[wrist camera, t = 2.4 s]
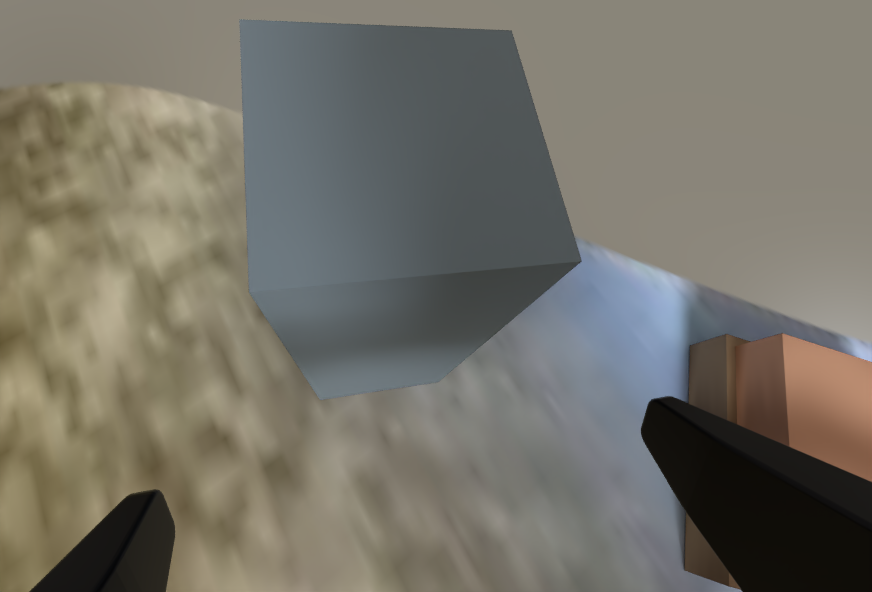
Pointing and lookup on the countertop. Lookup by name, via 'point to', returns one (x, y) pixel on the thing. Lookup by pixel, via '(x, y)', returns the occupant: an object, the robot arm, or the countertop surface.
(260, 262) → the column brick
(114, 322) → the countertop surface
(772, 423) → the brown stepped block
